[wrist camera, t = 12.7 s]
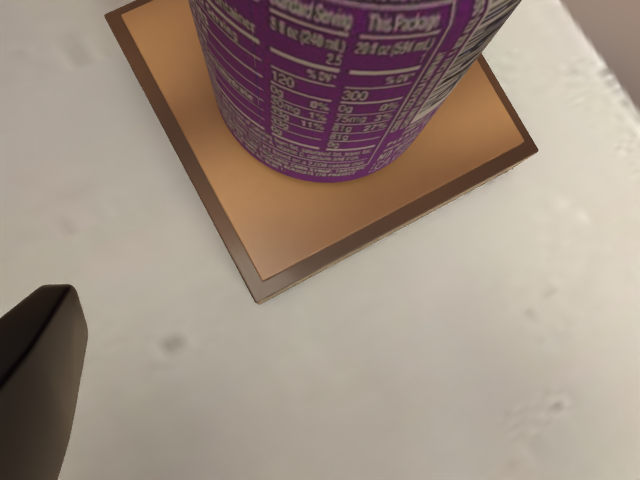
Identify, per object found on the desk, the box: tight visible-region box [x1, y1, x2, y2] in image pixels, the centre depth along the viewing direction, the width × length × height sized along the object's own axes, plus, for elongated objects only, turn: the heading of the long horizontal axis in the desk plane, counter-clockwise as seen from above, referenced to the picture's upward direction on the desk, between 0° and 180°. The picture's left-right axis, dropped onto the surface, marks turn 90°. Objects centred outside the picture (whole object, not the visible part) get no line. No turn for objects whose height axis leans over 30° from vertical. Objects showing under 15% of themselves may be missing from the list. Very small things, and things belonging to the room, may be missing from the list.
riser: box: [104, 0, 538, 304], centre depth 20 cm, size 11×11×3 cm
